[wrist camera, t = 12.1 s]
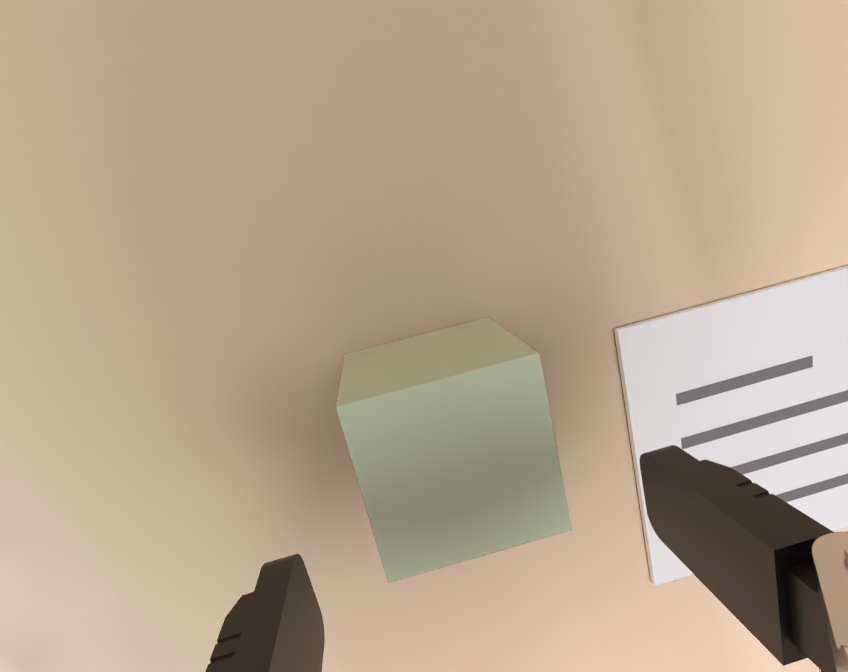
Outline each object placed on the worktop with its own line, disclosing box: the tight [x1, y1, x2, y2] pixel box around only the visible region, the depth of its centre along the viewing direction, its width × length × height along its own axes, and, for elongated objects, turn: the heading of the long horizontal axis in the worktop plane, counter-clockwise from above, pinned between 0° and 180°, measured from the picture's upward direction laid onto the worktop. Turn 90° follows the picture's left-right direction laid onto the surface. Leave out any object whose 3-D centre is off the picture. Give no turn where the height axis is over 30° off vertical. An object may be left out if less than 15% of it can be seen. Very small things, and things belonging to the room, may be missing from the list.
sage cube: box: [336, 317, 572, 583], centre depth 16 cm, size 6×6×6 cm
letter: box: [614, 265, 848, 586], centre depth 20 cm, size 12×13×1 cm
